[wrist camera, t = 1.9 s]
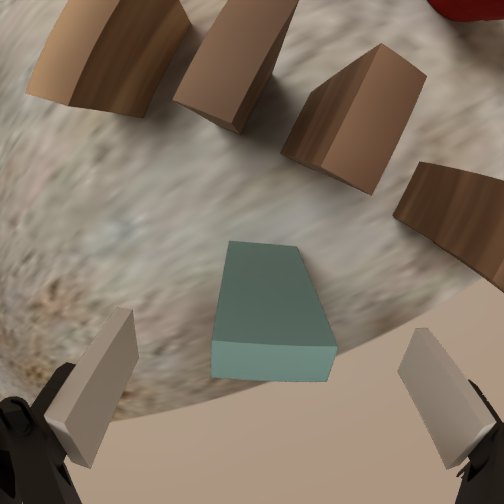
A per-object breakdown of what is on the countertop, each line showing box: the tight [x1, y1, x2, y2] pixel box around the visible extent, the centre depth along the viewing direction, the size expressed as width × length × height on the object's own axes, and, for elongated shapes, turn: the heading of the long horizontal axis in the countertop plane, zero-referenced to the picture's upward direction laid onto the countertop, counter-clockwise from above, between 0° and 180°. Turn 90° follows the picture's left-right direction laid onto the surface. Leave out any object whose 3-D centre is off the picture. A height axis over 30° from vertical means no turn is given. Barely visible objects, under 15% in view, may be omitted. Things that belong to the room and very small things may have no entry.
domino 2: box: [211, 241, 338, 382], centre depth 17 cm, size 2×5×12 cm, turn 85°
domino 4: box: [392, 162, 504, 290], centre depth 16 cm, size 2×5×12 cm, turn 154°
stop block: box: [25, 0, 191, 118], centre depth 13 cm, size 3×8×10 cm, turn 155°
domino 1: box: [173, 0, 299, 135], centre depth 13 cm, size 2×5×12 cm, turn 155°
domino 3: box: [280, 43, 427, 196], centre depth 14 cm, size 2×5×12 cm, turn 155°
